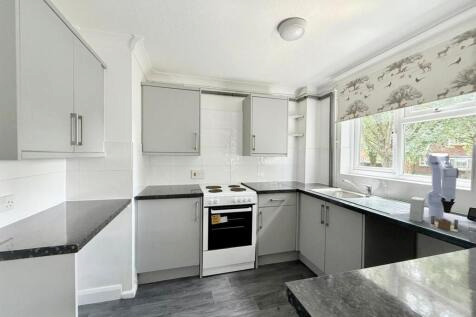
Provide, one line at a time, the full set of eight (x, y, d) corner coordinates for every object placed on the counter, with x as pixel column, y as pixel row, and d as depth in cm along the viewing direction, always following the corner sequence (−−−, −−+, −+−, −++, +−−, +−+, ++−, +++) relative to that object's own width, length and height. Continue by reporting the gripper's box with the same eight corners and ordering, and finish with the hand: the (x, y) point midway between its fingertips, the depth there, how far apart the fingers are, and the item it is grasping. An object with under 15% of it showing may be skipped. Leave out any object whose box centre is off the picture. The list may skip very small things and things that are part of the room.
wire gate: (431, 222, 125) (431, 215, 125) (457, 228, 117) (458, 219, 117) (430, 224, 123) (431, 216, 123) (457, 229, 115) (458, 221, 115)
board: (431, 221, 130) (431, 220, 130) (457, 226, 122) (457, 225, 122) (430, 227, 119) (430, 226, 119) (458, 233, 111) (458, 232, 111)
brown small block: (437, 225, 120) (438, 218, 120) (450, 228, 116) (450, 220, 116) (437, 227, 116) (438, 220, 116) (450, 230, 113) (450, 222, 113)
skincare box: (411, 218, 136) (413, 196, 135) (423, 220, 131) (425, 198, 131) (408, 220, 131) (410, 198, 130) (421, 223, 126) (422, 200, 125)
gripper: (439, 186, 126) (437, 207, 126) (438, 188, 116) (436, 212, 116) (455, 187, 121) (454, 210, 121) (456, 190, 111) (454, 215, 111)
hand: (446, 211), depth 119 cm, fingers open, 7 cm apart
